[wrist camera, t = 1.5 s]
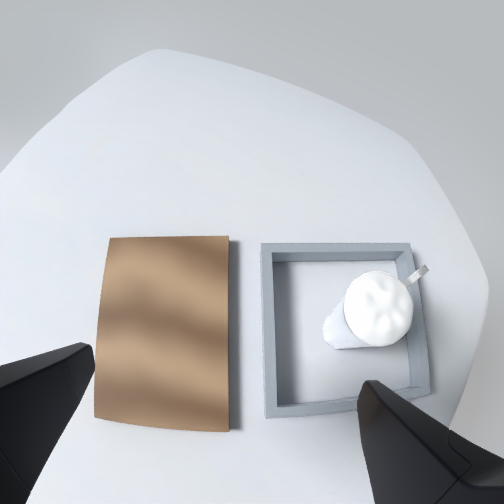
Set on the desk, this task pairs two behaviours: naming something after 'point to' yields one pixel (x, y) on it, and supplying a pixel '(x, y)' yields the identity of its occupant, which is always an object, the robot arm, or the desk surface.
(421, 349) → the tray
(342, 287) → the desk surface
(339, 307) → the milkshake
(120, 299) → the board
